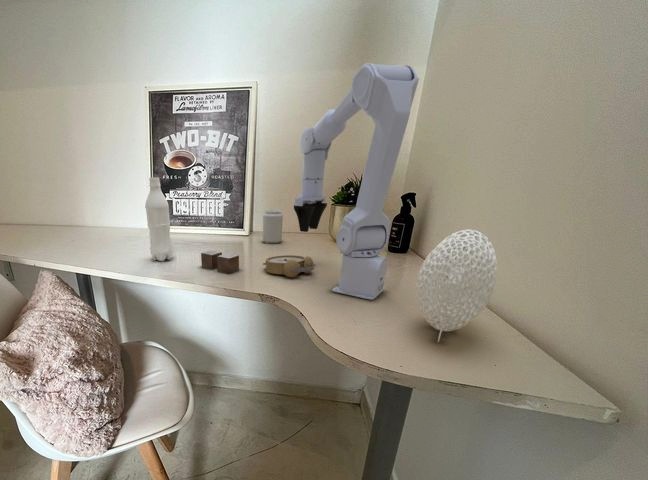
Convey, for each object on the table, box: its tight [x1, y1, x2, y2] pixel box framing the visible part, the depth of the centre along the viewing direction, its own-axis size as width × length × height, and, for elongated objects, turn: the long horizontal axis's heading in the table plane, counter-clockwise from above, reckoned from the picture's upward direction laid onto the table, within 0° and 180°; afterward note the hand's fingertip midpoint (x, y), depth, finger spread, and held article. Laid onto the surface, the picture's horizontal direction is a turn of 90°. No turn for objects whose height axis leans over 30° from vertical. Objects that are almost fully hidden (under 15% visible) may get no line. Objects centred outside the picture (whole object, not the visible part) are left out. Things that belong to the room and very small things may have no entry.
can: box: [262, 209, 284, 244], centre depth 130 cm, size 8×8×12 cm
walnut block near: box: [217, 252, 240, 274], centre depth 96 cm, size 4×4×4 cm
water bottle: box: [144, 176, 174, 262], centre depth 105 cm, size 7×7×25 cm
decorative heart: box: [415, 228, 498, 343], centre depth 56 cm, size 18×11×17 cm, turn 141°
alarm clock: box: [262, 254, 316, 278], centre depth 93 cm, size 11×5×15 cm
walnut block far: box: [200, 250, 223, 271], centre depth 99 cm, size 4×4×4 cm
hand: (308, 230), depth 96 cm, fingers open, 5 cm apart
